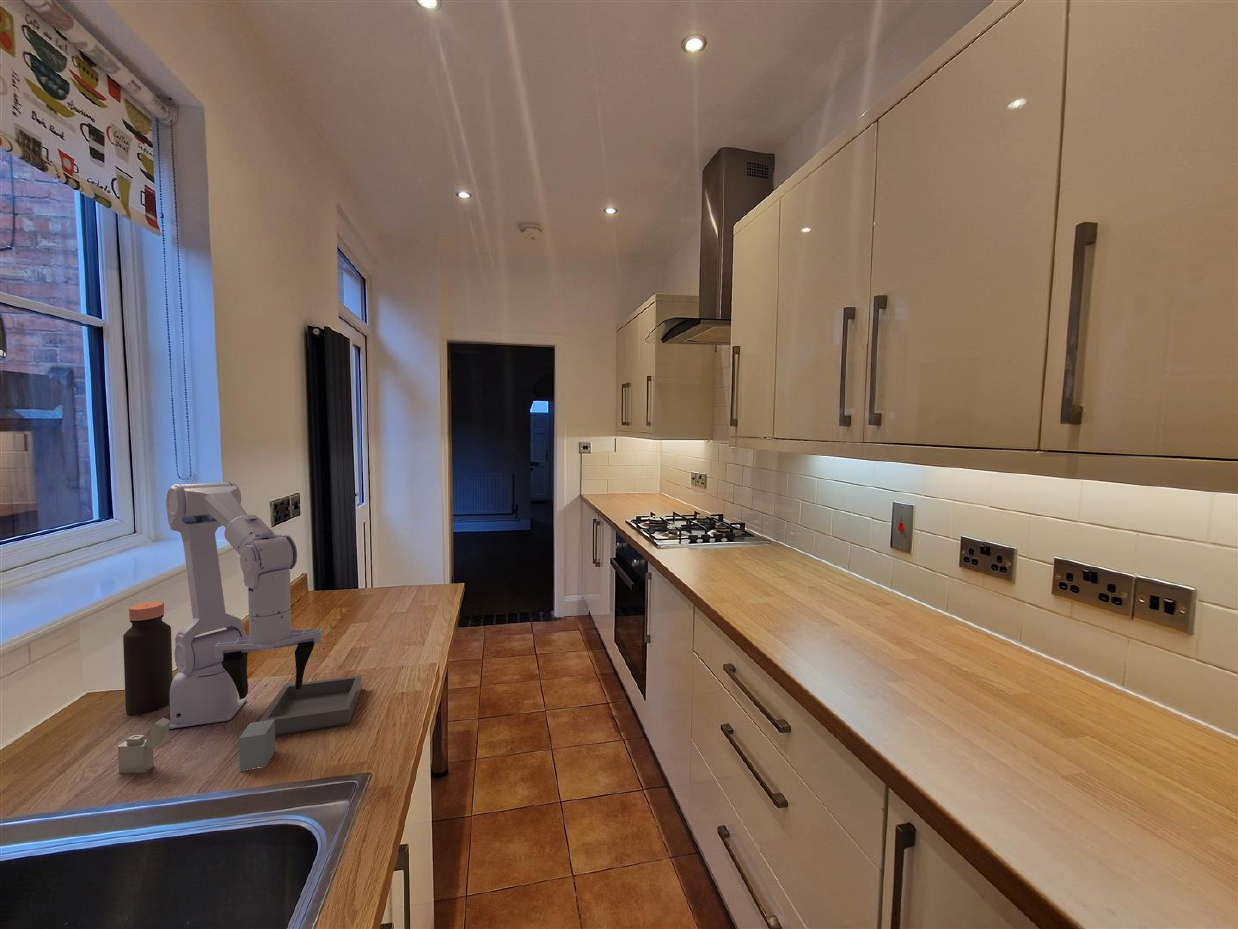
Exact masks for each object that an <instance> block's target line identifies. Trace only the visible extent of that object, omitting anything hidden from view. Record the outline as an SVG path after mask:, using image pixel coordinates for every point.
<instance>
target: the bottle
mask: <svg viewBox="0 0 1238 929" xmlns="http://www.w3.org/2000/svg"><path fill="white" fill-rule="evenodd" d="M128 613H129V614H128V615H129V617H128V619H129V622H130V623H131V626H130V628H129V629H128V630H126V631H125V633H124V634H123V635H122V645H123V672H124V673H123V674H124V675H123V676H124V697H125V698H124V699H125V705H124V706H125V711H126V714H128V713H129V715H131V714H139V715H145V714H149V713H148V712H150V713H153V712H156V711H159V710H162V709H163V708H165V707H167V706H170V687H171V683H172V680H173V678H174V676H173V675H174V674H173V647H172V627H171V626H170V624H168V623H167V622H165V621H163V618H164V616H165V615H164V614H165V603H164V602H162V601H148V602H141V603H139V604H135V605H132V606H130V607H129V608H128ZM144 713H145V714H144Z"/></svg>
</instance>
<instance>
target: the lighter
mask: <svg viewBox="0 0 1238 929" xmlns="http://www.w3.org/2000/svg"><path fill="white" fill-rule="evenodd" d="M171 722H172V721H170V719H167V718H166V717H162V718H160V719H159V720H158V721H157V720H156V722H154V724H153V725H152V728H151V731H150V732H149V734H148V736H147V738H146V739H145V735H143V734H134V735H131V736H129V737H127V738H126V740H125V741H123V742H122V743H119V744H118V745H117V755H118V757H117V760H118V774H145V773H147V772H148V771H150V770H151V769H153V768H154V767H155V761H154V759H155V758H154V749H155V748H157V747H158V746H159V745H160V744H162V743H163V741H164V739H165V736H167V735H166V734H167V732H168V730H169V726H170V724H171Z"/></svg>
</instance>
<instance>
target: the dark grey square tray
mask: <svg viewBox="0 0 1238 929" xmlns="http://www.w3.org/2000/svg"><path fill="white" fill-rule="evenodd" d="M362 678H363V676H362V675H353V676H345V677H338V678H328V679H321V680H320V679H319V680H314V681H305V682H302V686H301V689H297V690H296V686H295V683H289V684H288V683H287V684H284V685H283V686H282V687H281V689H280V691H279V692H278V694H277V695H276V696H275V698H274V699H273V701H272V702H271V704H270V705H269V707H268V708H267V710H266V711H265V712H264V714H263V715H262V717H261V718H260V720H259V721H266V720H273V719H275V737H280V736H286V735H287V736H288V735H294V734H300V733H305V732H311V731H319V730H325V729H331V728H338V727H344V726H350V724H351V720H352V718H353V715H354V712H355V710H356V707H357V704H358V700H359V698H360V696H361V693H362V689H363V684H362V683H363V681H362Z"/></svg>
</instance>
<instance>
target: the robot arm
mask: <svg viewBox="0 0 1238 929" xmlns="http://www.w3.org/2000/svg"><path fill="white" fill-rule="evenodd" d="M241 502H242V493H241V490H240V488H239V486H238V484H236V483H235V481H232V480H230V481H229V480H227V481H224V482H223V481H222V482H207V483H205V482H203V483H202V482H201V483H186V484H180V483H175V484H172V485H171V486H170V487H169V488H168V490H167V492H166V497H165V506H166V515H167V522H168V525H169V529H170V531H175V532H179V533H180V535H181V539H182V544H183V545H182V546H183V552H184V559H185V567H186V575H187V582H188V589H189V590H188V591H189V599H190V605H191V613H192V619H191V620H190V621H189V622H188V623H187V624H185V625H184V627H182V628H181V629H180V630H179V631H178V632H177V633H176V634H175V639H174V641H175V644H174V646H175V648H174V655H173V656H174V661H175V662H174V663H175V666H176V668H177V670H178V672H177V673H176V674H175V675H174V676H173V680H172V683H171V687H170V704H169V716H170V717H169V718H170V719H169V720H170V721H172V722H171V724H170V726H169V728H168V730H170V729H177V728H184V727H191V726H198V725H206V724H212V723H213V724H214V723H220V722H227V721H230V720H232V719H233V718H234V717H235V715H236V713H238V712H239V711H240V709H241V707H242V706H244V703H245V702H246V701H247V695H248V693H249V683H248V656H249V653H250V652H258V651H267V650H272V649H281V648H285V647H293V646H295V649H294V660H295V683H294V684H295V686H296V690H297V689H301V686H302V683H304V682H303V679H304V674H305V671H306V670H305V669H306V667H307V664H308V661H309V659H310V656H311V654H312V652H313V650H314V646H315V645H317V644H321V643H322V641H323V629H322V628H315V629H292V614H291V613H292V612H291V611H292V608H291V607H292V606H291V605H292V604H291V602H292V601H291V600H292V599H291V570H293V569H294V568H295V567H296V565H297V560H298V551H297V550H298V549H297V546H296V543H295V541H294V540H293V538H292V537H291V536H290V535H287V534H285V535H282V534H276V533H275V532H274V531H273V530H272V529H271V528H270V527H269V526H268V525H267V524H266V523H265V522H264V520H262V519H261V518H260V517H259V516H257V515H256V514H247V512H246V510H245V509H244V508H243V506H242V505H241ZM220 527H224V528H225V529H224V533H223V536H224V538H225V540H226V541H227V542H228V543H229V544H230V545H231V547H232V548H233V549H234V550H235V552H237V554H238V555H239V564H240V568H241V570H242V571H241V572H242V575H243V583H244V586H245V587H247V594H248V595H247V596H248V601H247V602H248V604H247V605H248V635H247V633H246V631H245V628H244V622H243V621H242V619H241V618H239V617H237V616H235V615H231V614H230V613H227V612H226V606H225V597H224V591H223V589H224V588H223V583H222V577H221V567H220V561H219V560H220V559H219V555H218V554H219V553H218V546H217V539H216V538H217V537H216V532H217V530H218V528H220ZM224 628H225V629H224ZM221 629H222V630H221ZM217 630H218V631H217ZM213 631H214V632H213ZM209 632H210V633H209ZM205 633H207V634H205ZM202 634H203V635H202ZM238 697H239V698H238Z"/></svg>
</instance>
